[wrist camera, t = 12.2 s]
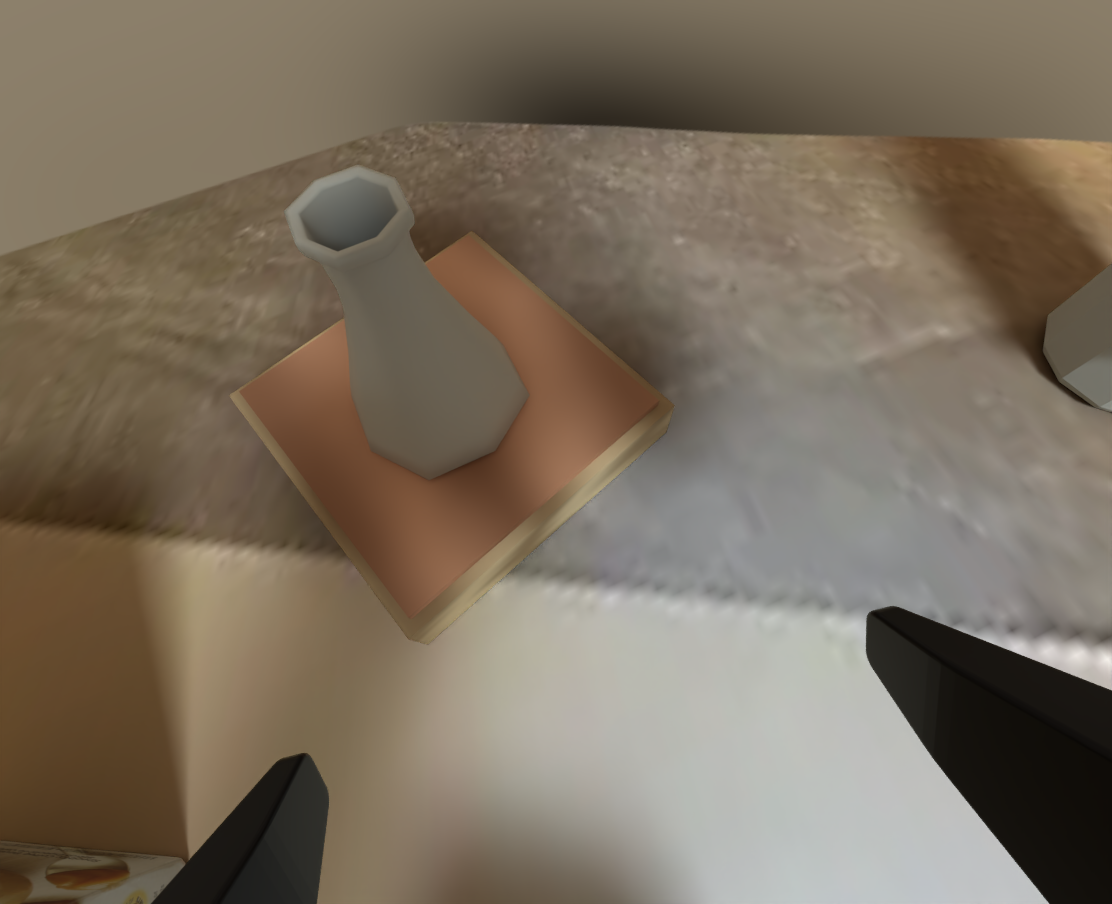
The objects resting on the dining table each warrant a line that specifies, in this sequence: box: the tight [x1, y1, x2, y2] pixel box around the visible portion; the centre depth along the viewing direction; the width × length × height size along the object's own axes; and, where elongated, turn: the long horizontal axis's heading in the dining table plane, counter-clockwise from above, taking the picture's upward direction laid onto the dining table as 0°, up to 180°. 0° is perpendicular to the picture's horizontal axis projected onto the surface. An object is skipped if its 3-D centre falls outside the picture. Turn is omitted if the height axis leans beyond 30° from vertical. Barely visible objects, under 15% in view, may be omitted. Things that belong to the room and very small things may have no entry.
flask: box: [284, 164, 530, 480], centre depth 18 cm, size 7×7×10 cm
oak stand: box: [229, 231, 675, 644], centre depth 24 cm, size 14×14×3 cm
